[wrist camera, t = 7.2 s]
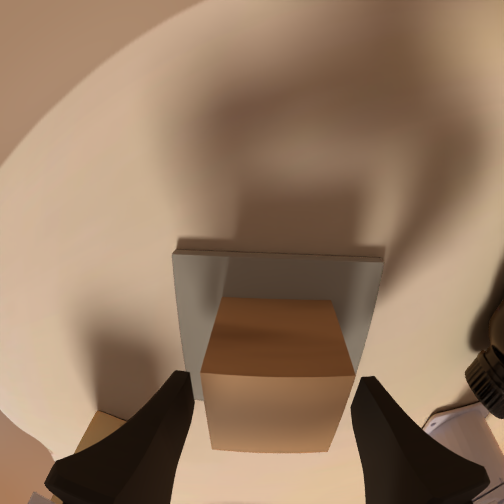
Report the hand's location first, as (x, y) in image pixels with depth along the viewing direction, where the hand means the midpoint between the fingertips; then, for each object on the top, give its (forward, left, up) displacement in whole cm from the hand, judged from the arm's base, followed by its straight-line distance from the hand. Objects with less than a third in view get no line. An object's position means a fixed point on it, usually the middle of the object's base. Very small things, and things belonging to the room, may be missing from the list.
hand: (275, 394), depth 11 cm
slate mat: (0, 0, -4) cm, 4 cm away
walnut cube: (0, 0, -3) cm, 3 cm away
